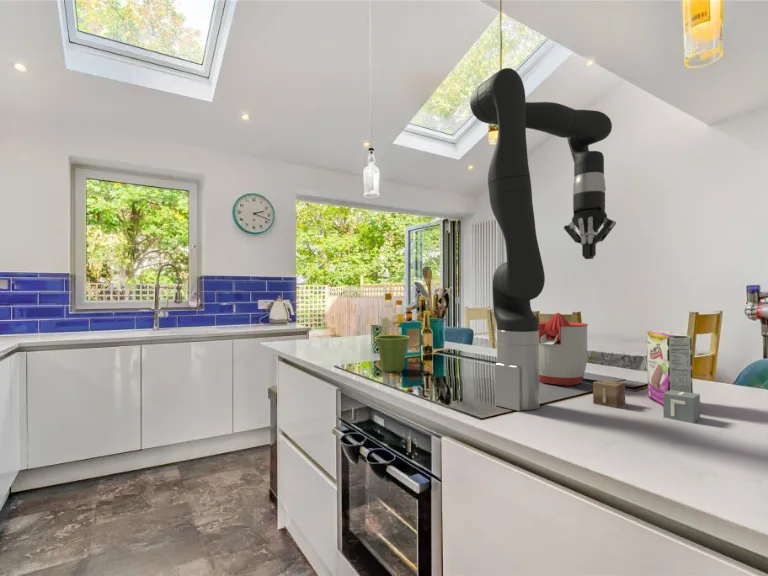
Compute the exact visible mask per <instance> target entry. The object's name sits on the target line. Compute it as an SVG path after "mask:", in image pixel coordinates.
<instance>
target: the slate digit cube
mask: <svg viewBox="0 0 768 576" xmlns="http://www.w3.org/2000/svg"><path fill="white" fill-rule="evenodd" d="M700 399H701V394H700V393H695V392H693V393H688V392H682V391H675V390H670V391H668V392H666V393H664V394H663V405H662V406H663V407H662V408H663V418H664V419H669V420H675V421H679V422H683V423H684V422H685V423H689V424H690V423H691V424H695V423H696V422H697V421H699V420H700V419H701V400H700Z"/></svg>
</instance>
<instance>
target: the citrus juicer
mask: <svg viewBox="0 0 768 576" xmlns="http://www.w3.org/2000/svg"><path fill="white" fill-rule="evenodd" d="M588 326H589V324H588V323H585V322H573V321H568V320H567V319H566V318H565V316H563V315H562V314H561V313H559V312H557V313H556V312H555V314H553V316H552V317H551V318H549V320H547V321H539V383H541V384H552V385H558V386H559V385H560V386H561V385H562V386H564V387H571V386H572V385H579V384H580V383H582V380H583V379H584V376H585V371H586V370H587V369H586V368H587V364H588Z"/></svg>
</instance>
